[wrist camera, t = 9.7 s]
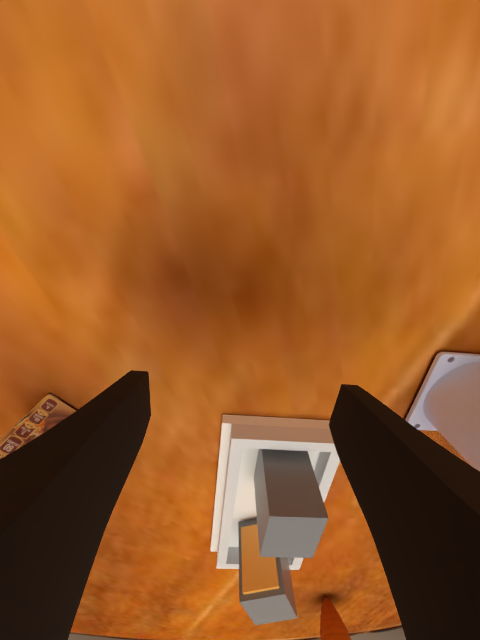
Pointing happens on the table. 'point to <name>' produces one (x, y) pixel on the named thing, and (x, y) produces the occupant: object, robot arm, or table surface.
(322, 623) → the carrot
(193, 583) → the table surface
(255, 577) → the grey block orange top
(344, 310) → the table surface
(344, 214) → the table surface
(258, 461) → the grey toy block
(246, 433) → the white tray
